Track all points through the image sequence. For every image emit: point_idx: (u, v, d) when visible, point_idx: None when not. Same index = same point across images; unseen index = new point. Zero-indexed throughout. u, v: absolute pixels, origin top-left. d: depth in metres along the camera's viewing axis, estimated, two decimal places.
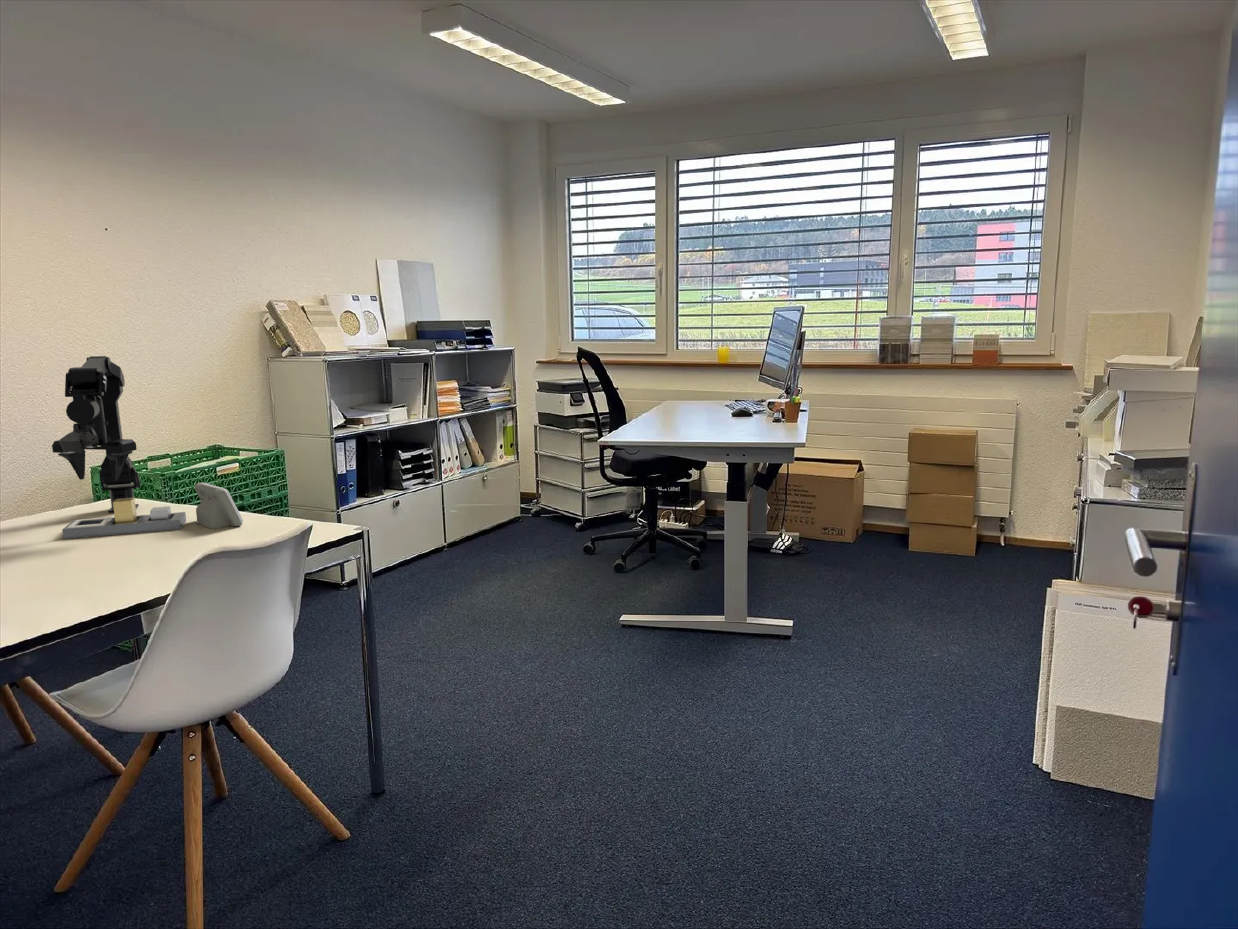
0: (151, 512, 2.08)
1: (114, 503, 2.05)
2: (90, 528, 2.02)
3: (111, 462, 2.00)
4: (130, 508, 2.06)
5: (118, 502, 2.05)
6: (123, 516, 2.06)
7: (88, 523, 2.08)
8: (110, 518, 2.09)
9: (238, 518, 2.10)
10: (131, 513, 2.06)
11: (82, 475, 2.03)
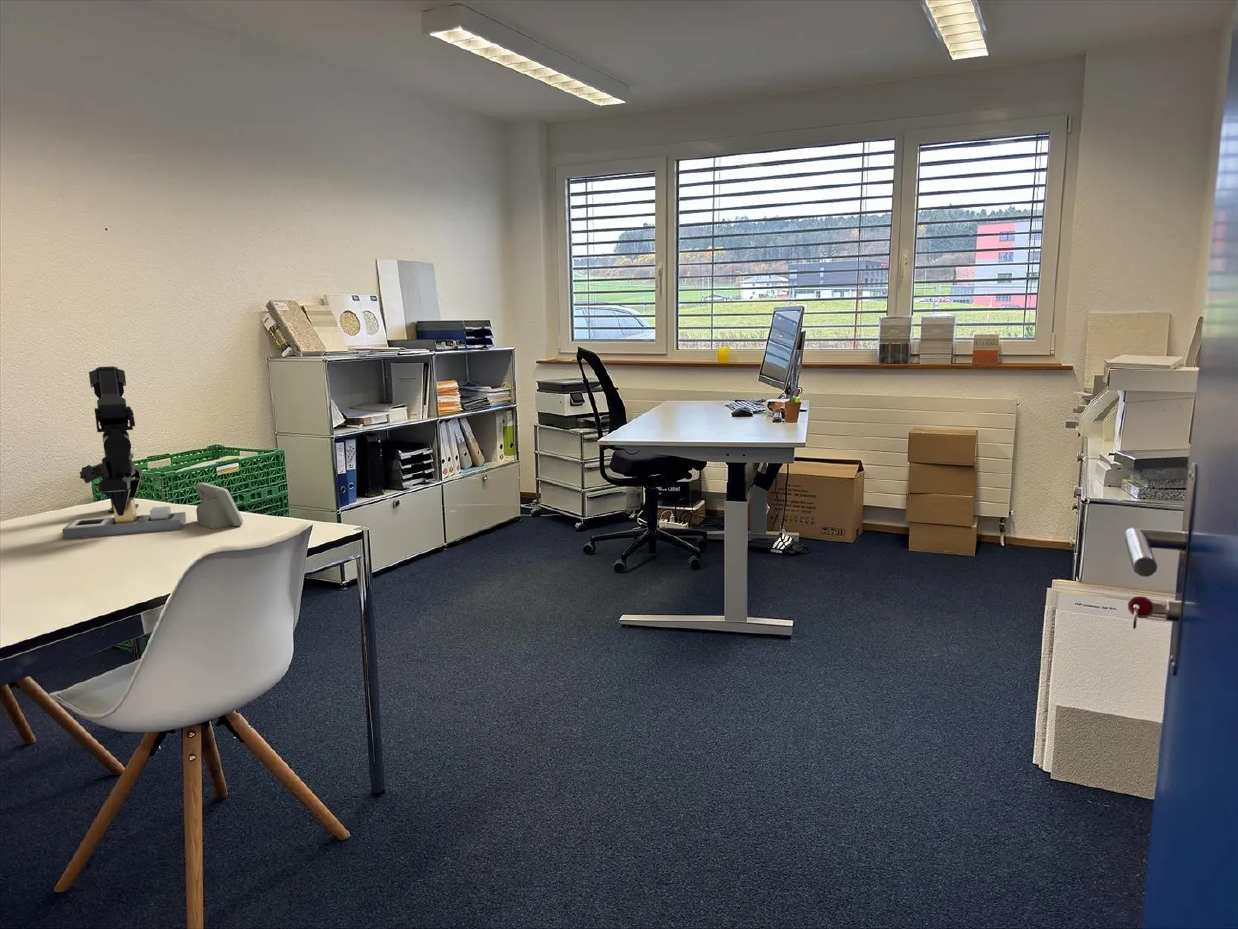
0: (151, 512, 2.08)
1: None
2: (90, 528, 2.02)
3: None
4: (130, 508, 2.06)
5: None
6: (123, 516, 2.06)
7: (88, 523, 2.08)
8: (110, 518, 2.09)
9: (238, 518, 2.10)
10: (131, 513, 2.06)
11: None
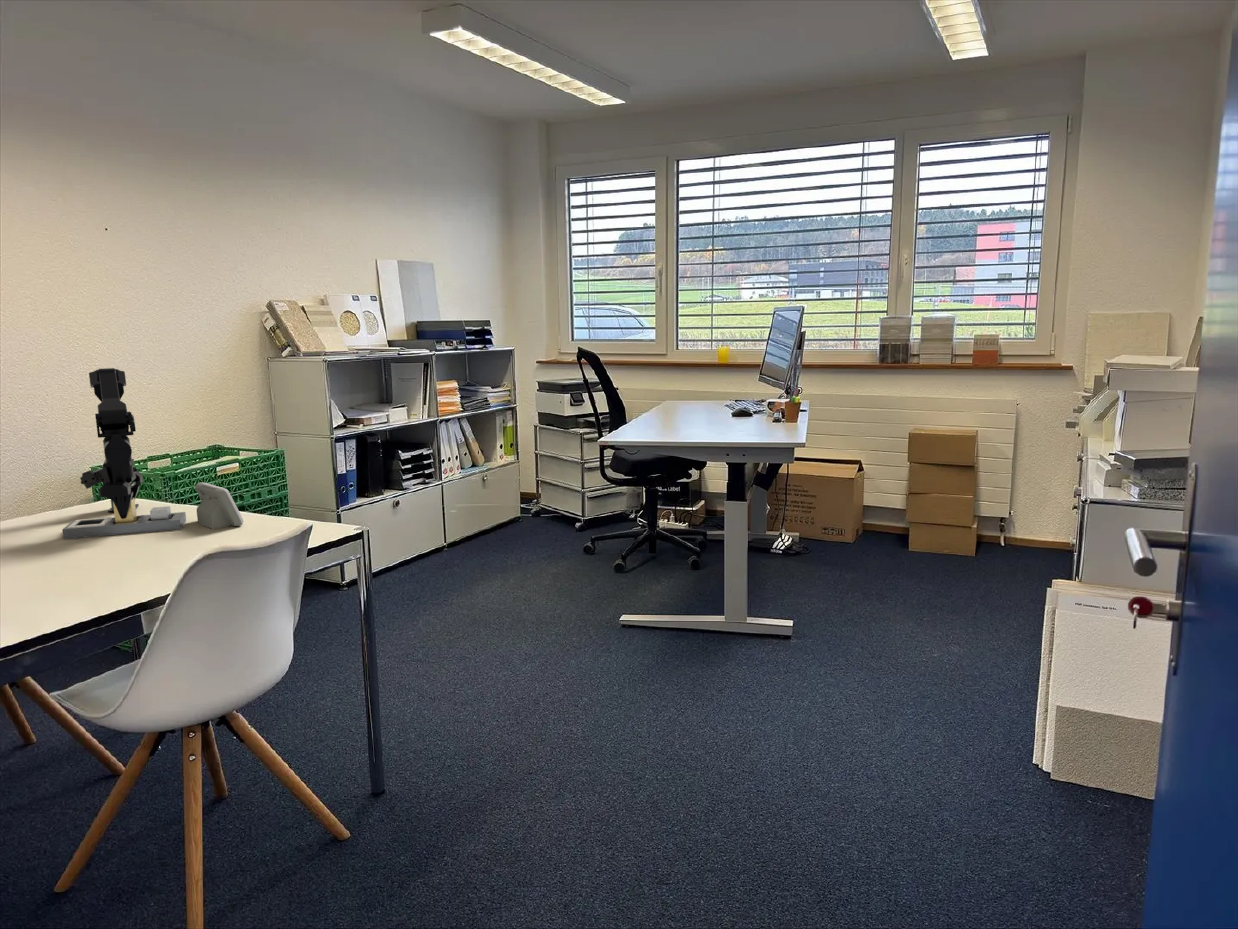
0: (151, 512, 2.08)
1: None
2: (90, 528, 2.02)
3: None
4: (130, 508, 2.06)
5: None
6: None
7: (88, 523, 2.08)
8: (110, 518, 2.09)
9: (238, 518, 2.10)
10: (131, 513, 2.06)
11: None
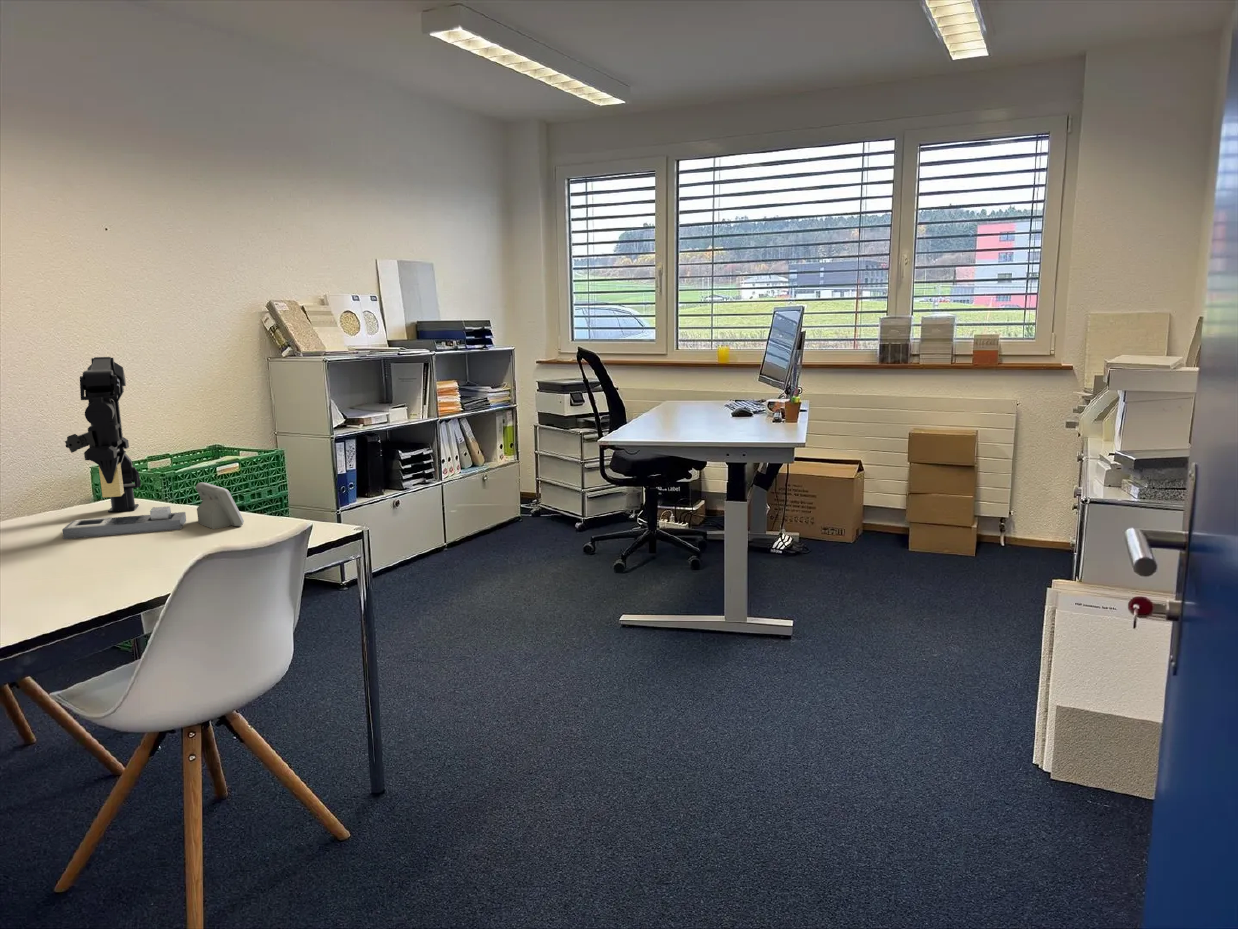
0: (151, 512, 2.08)
1: None
2: (90, 528, 2.02)
3: None
4: (116, 473, 2.04)
5: None
6: None
7: (88, 523, 2.08)
8: (110, 518, 2.09)
9: (239, 518, 2.10)
10: (117, 478, 2.04)
11: None
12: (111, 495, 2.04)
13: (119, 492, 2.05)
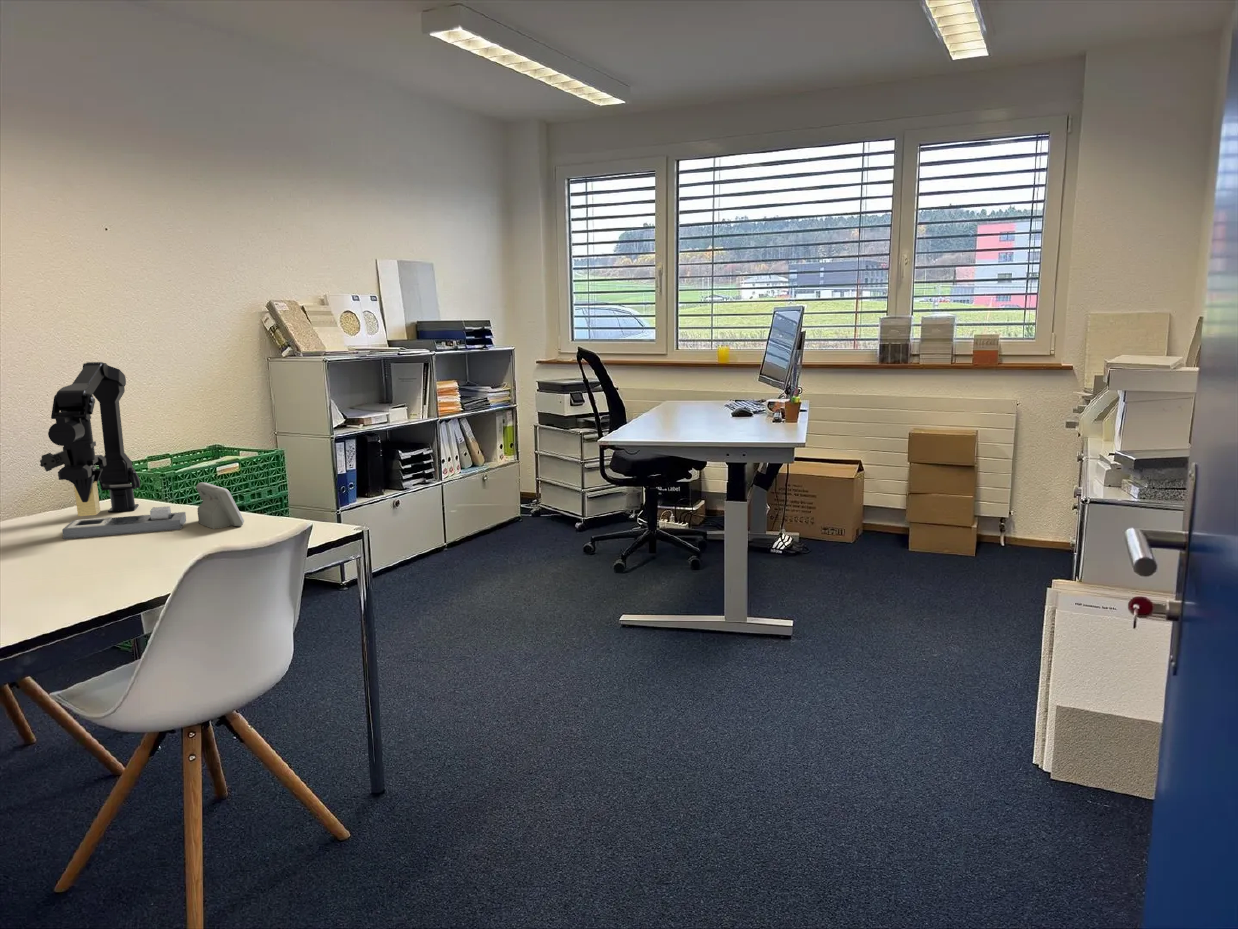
0: (151, 512, 2.08)
1: None
2: (90, 528, 2.02)
3: None
4: (92, 491, 2.03)
5: None
6: None
7: (88, 523, 2.08)
8: (110, 518, 2.09)
9: (239, 518, 2.10)
10: (93, 496, 2.03)
11: None
12: (87, 514, 2.03)
13: (95, 511, 2.04)
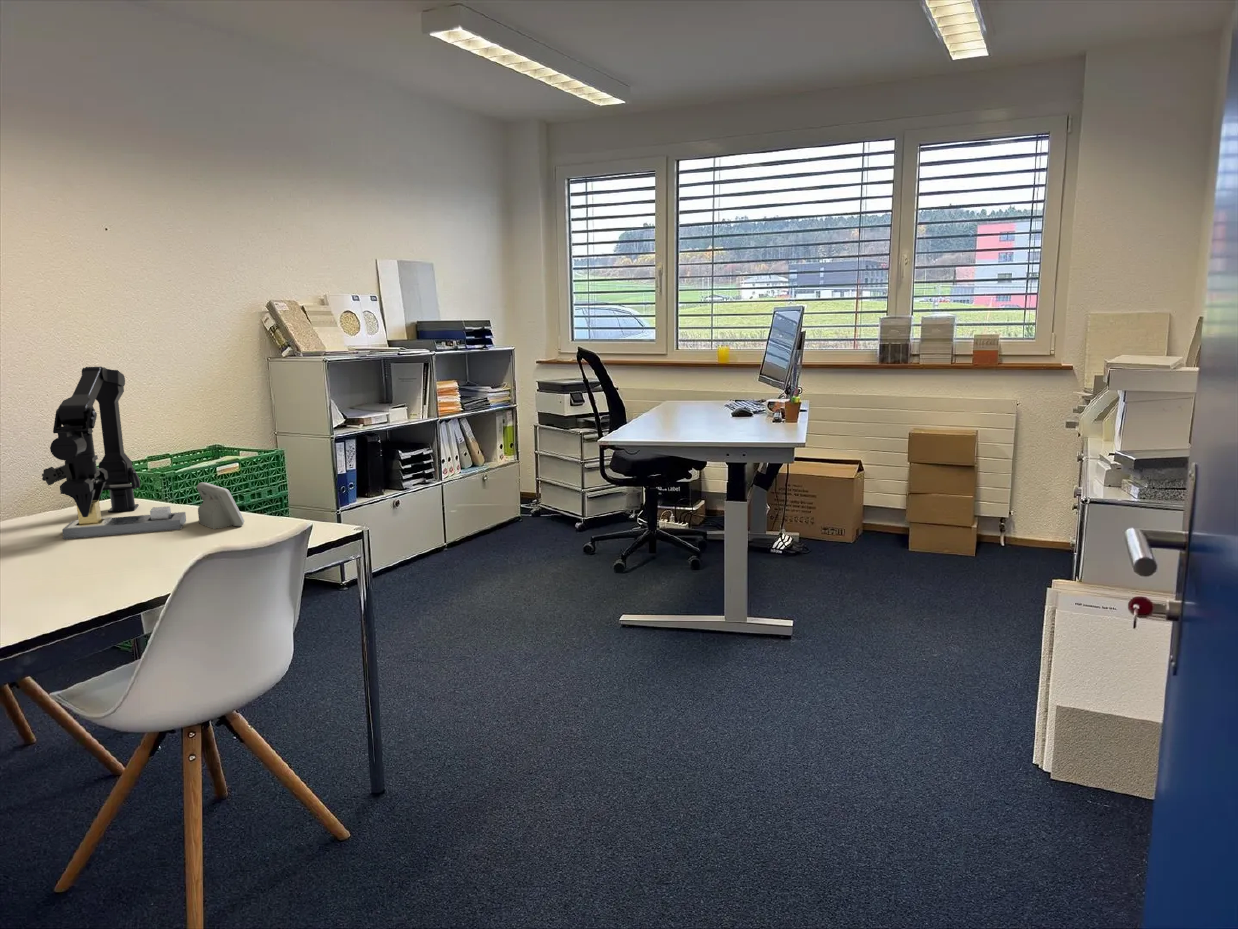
0: (151, 512, 2.08)
1: None
2: (90, 528, 2.02)
3: None
4: (94, 511, 2.03)
5: None
6: (87, 519, 2.03)
7: None
8: (110, 518, 2.09)
9: (239, 518, 2.10)
10: (95, 516, 2.04)
11: None
12: None
13: None
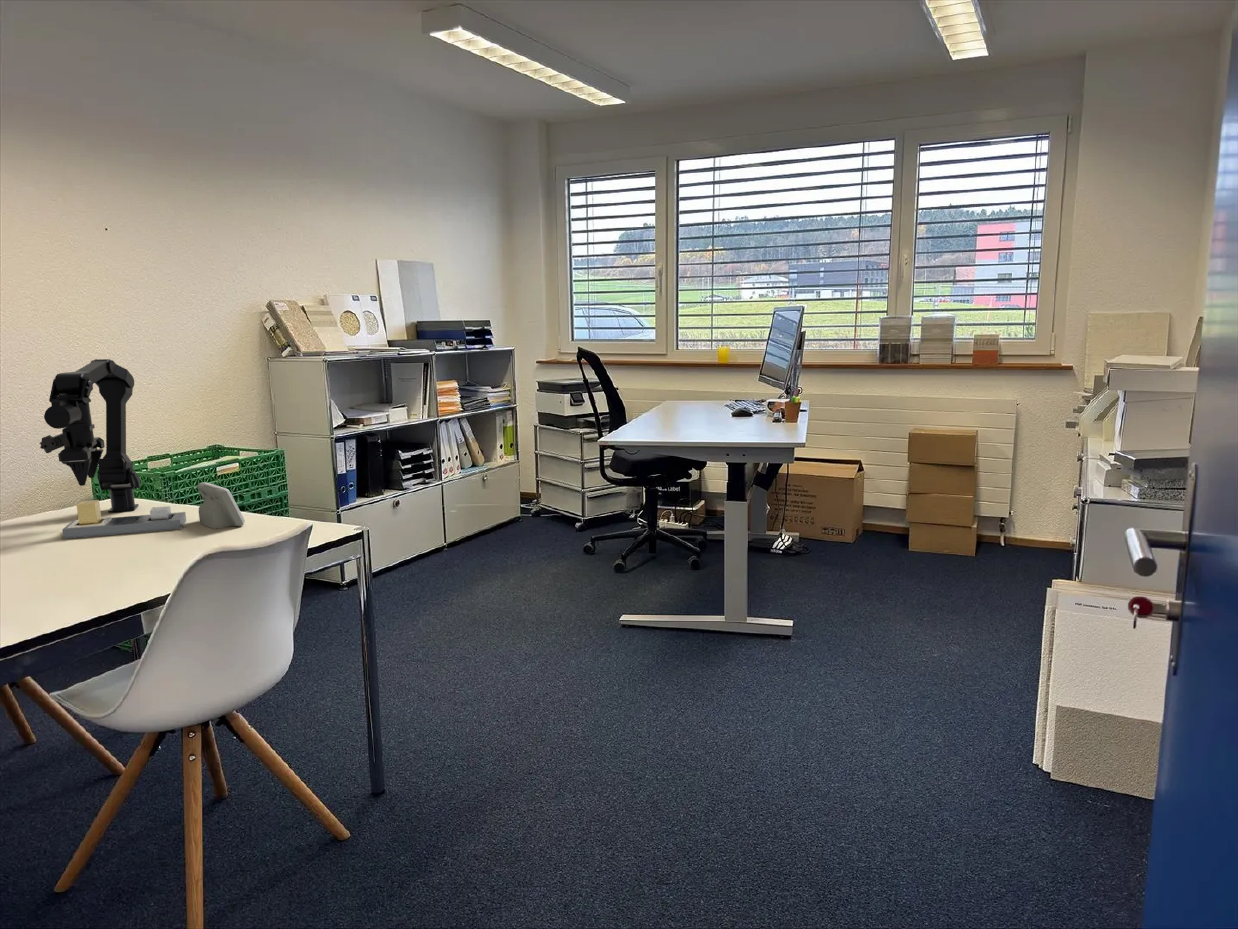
0: (151, 512, 2.08)
1: (78, 506, 2.02)
2: (90, 528, 2.02)
3: None
4: (94, 511, 2.03)
5: (82, 505, 2.02)
6: (87, 519, 2.03)
7: None
8: (110, 518, 2.09)
9: (240, 518, 2.10)
10: (95, 516, 2.04)
11: (91, 474, 2.13)
12: None
13: None
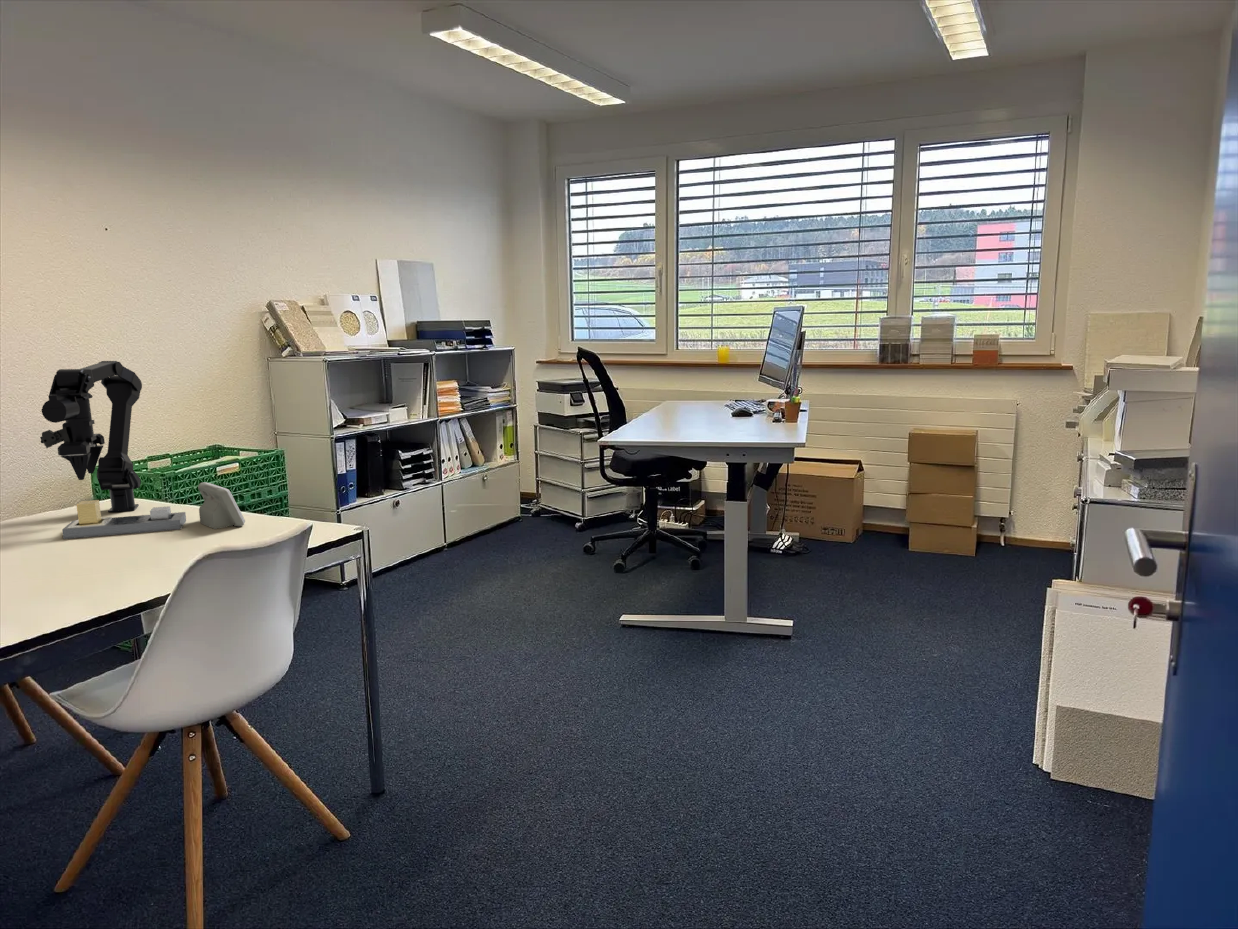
0: (151, 512, 2.08)
1: (78, 506, 2.02)
2: (90, 528, 2.02)
3: None
4: (94, 511, 2.03)
5: (82, 505, 2.02)
6: (87, 519, 2.03)
7: None
8: (110, 518, 2.09)
9: (240, 518, 2.10)
10: (95, 516, 2.04)
11: (90, 469, 2.15)
12: None
13: None
